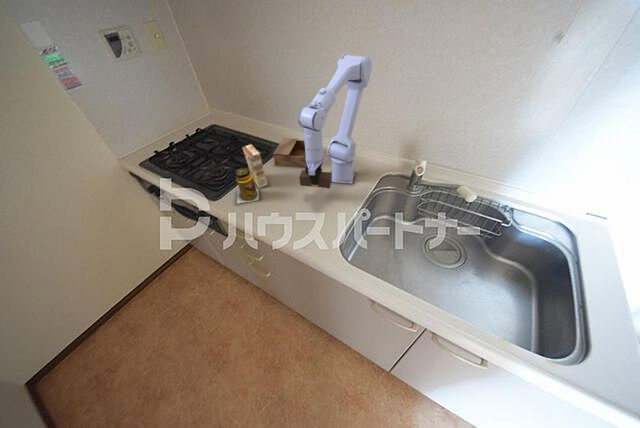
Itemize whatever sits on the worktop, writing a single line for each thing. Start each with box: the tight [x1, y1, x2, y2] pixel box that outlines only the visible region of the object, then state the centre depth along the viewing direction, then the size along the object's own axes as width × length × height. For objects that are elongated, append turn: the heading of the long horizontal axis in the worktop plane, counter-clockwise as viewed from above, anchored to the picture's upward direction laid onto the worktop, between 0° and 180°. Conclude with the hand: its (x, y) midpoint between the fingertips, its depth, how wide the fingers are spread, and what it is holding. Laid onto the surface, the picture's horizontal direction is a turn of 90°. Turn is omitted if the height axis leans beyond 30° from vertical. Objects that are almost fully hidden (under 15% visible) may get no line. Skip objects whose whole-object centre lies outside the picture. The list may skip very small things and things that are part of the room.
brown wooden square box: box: [272, 137, 308, 169], centre depth 113 cm, size 15×15×6 cm
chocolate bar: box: [298, 169, 333, 189], centre depth 86 cm, size 4×11×4 cm, turn 78°
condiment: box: [234, 167, 260, 204], centre depth 91 cm, size 7×8×12 cm
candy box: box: [242, 143, 269, 189], centre depth 97 cm, size 9×4×15 cm, turn 33°
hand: (316, 180), depth 87 cm, fingers closed on chocolate bar, 4 cm apart
